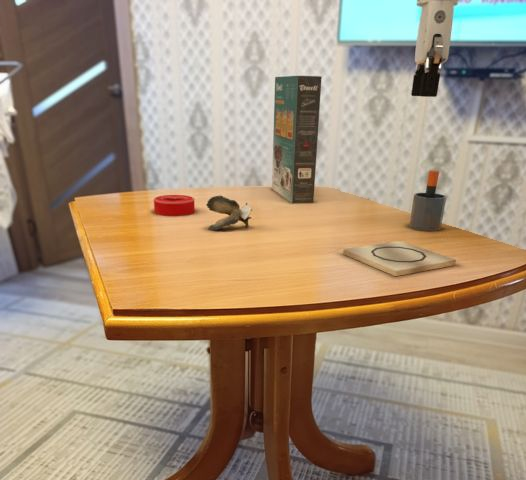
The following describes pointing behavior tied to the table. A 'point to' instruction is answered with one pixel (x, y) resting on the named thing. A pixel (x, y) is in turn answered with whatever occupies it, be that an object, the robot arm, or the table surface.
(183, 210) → the red tape roll
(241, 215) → the eagle figurine
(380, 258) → the beige square tile
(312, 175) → the cake mix box
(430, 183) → the marker
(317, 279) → the table surface
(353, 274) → the table surface
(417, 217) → the pen cup
